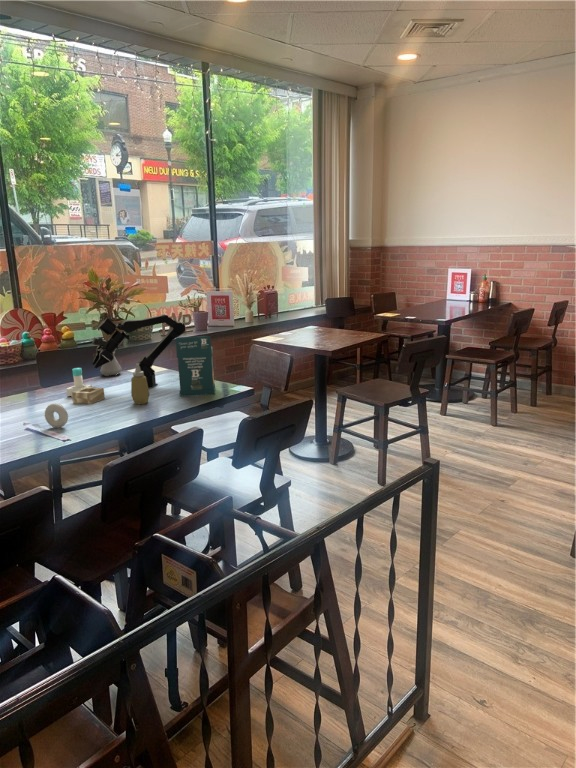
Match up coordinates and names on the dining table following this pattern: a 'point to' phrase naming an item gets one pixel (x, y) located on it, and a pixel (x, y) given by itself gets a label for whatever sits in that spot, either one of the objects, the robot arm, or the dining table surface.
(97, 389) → the socket block
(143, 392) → the squeeze bottle
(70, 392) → the holster
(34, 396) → the dining table surface
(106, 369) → the coffee pot
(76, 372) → the plug
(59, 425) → the donut
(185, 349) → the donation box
